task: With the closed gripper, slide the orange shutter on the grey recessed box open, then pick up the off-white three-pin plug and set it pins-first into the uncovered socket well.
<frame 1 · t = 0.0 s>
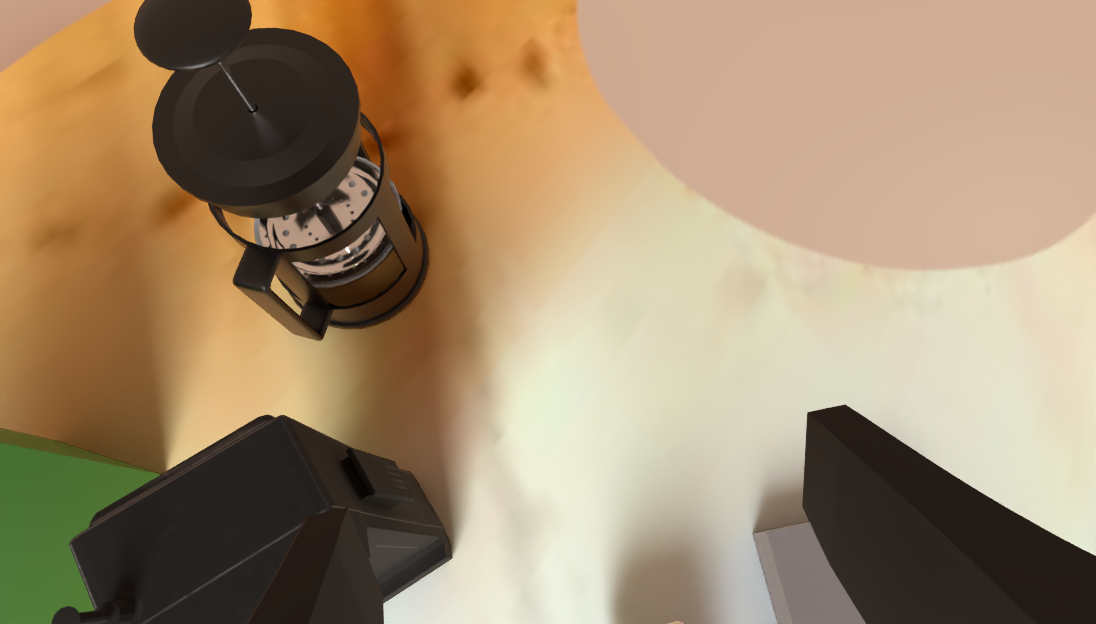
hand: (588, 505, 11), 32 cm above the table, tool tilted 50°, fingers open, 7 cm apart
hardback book: (40, 609, 42), on the table
french press: (355, 268, 48), on the table
portable radio: (390, 536, 43), on the table
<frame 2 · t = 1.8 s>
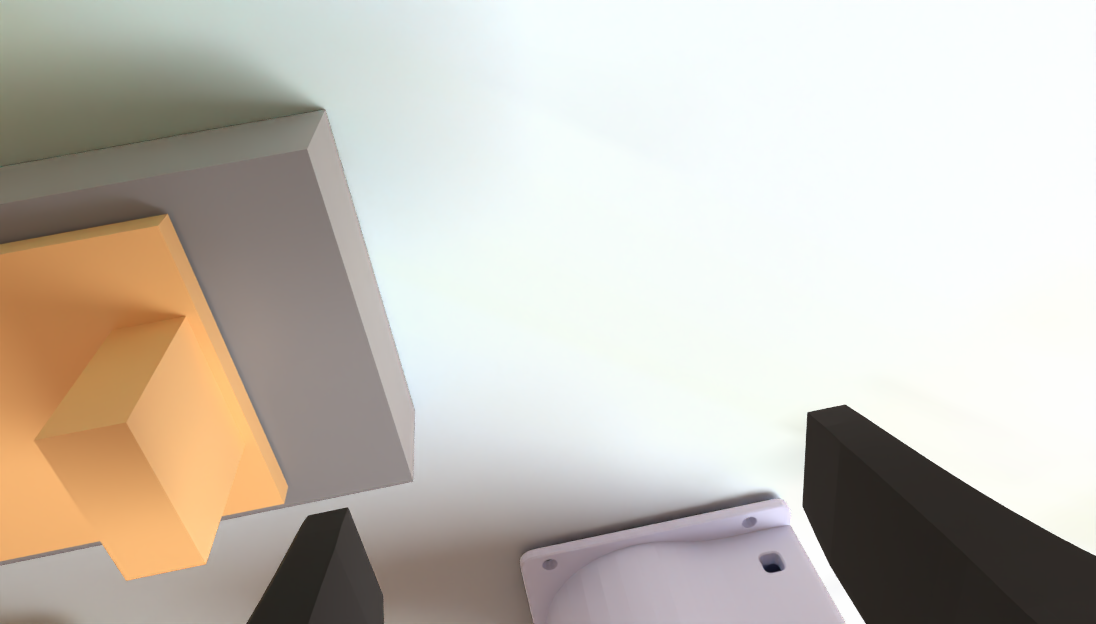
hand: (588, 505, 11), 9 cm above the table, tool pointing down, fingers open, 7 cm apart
shutter: (10, 462, 15), point 5 cm above the table, slide at 0.0 cm
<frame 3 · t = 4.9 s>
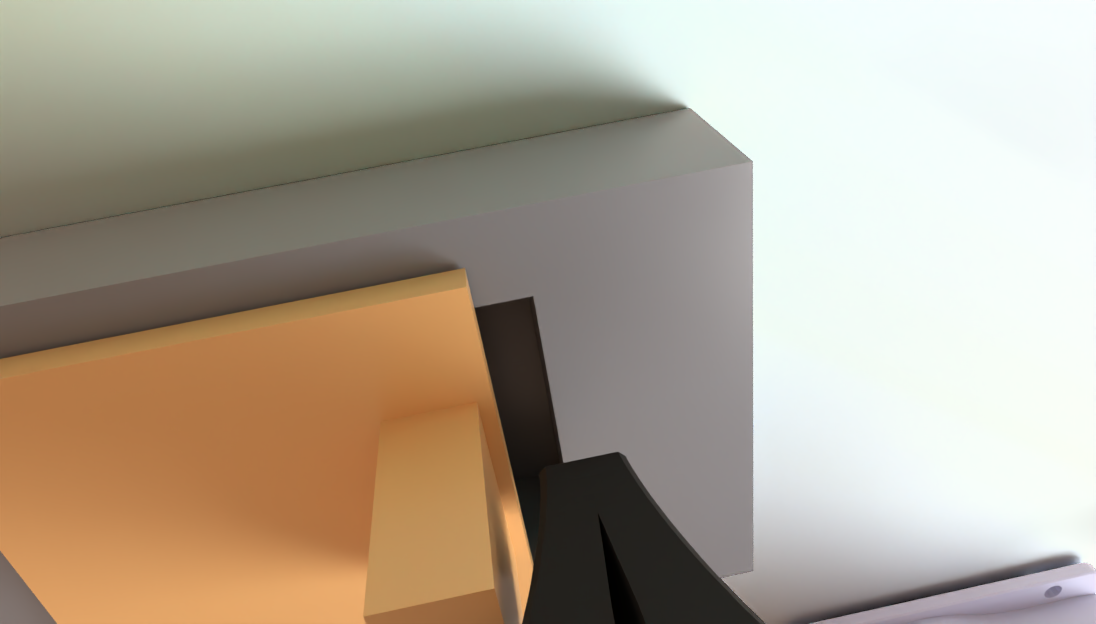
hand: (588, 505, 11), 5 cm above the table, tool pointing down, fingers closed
shutter: (254, 605, 11), point 5 cm above the table, slide at 1.4 cm, touching gripper
grey recessed box: (228, 412, 15), on the table
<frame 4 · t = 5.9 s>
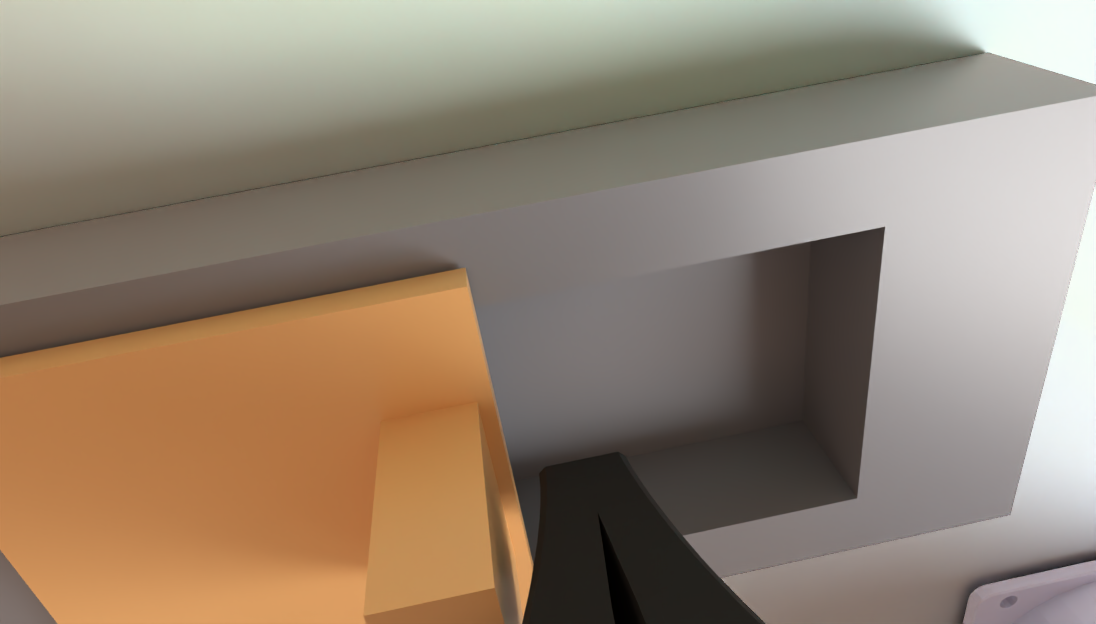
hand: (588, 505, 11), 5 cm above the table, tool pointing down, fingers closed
shutter: (254, 605, 11), point 5 cm above the table, slide at 7.1 cm, touching gripper
grey recessed box: (498, 357, 15), on the table
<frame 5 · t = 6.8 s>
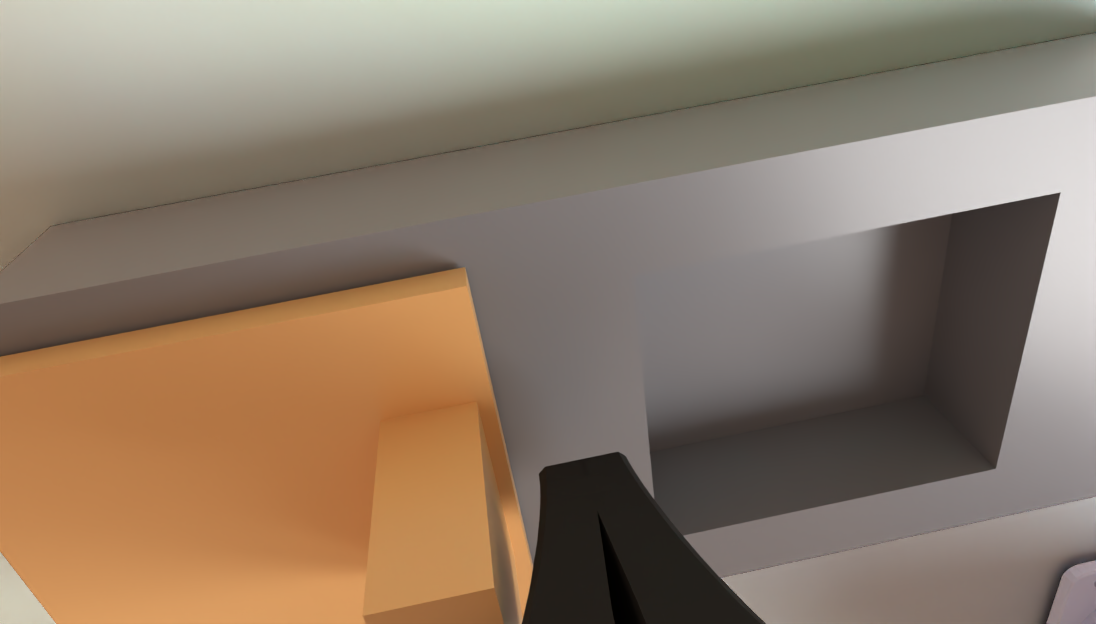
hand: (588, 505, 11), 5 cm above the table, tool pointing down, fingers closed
shutter: (253, 604, 11), point 5 cm above the table, slide at 10.0 cm, touching gripper
grey recessed box: (634, 330, 16), on the table
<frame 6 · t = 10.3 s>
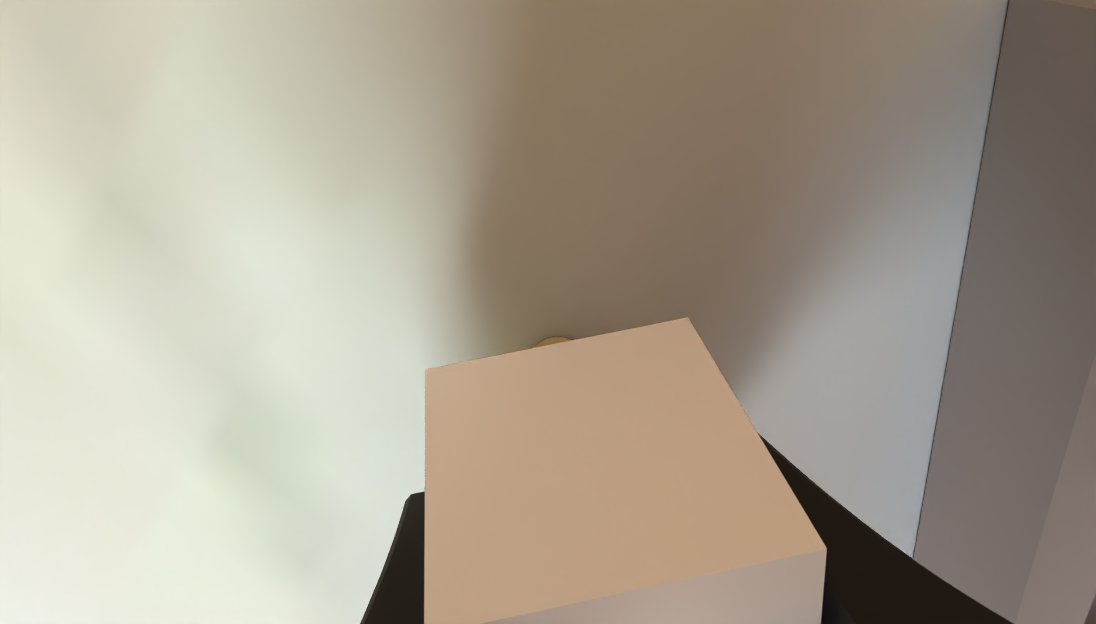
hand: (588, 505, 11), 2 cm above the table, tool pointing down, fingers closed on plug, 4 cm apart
plug: (563, 411, 14), on the table, touching gripper
when the fingers open (4 cm above the table, at t = 14.1 s): plug drops 1 cm, resting on grey recessed box.
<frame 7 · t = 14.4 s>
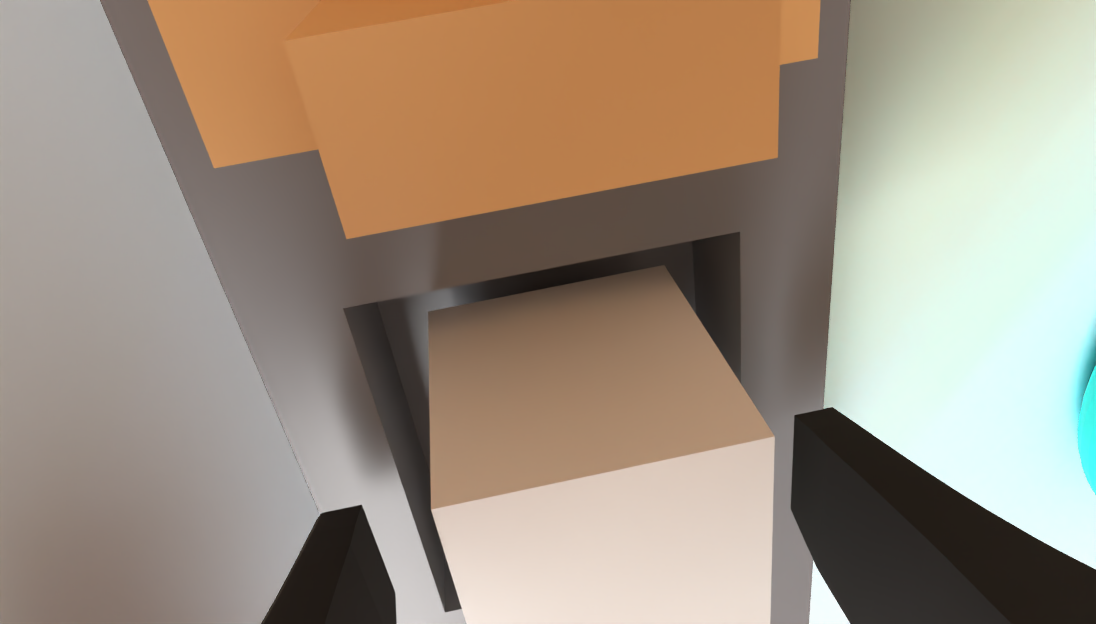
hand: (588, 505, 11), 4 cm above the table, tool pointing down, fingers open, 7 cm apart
grey recessed box: (526, 220, 14), on the table
plug: (553, 360, 15), point 1 cm above the table, touching grey recessed box
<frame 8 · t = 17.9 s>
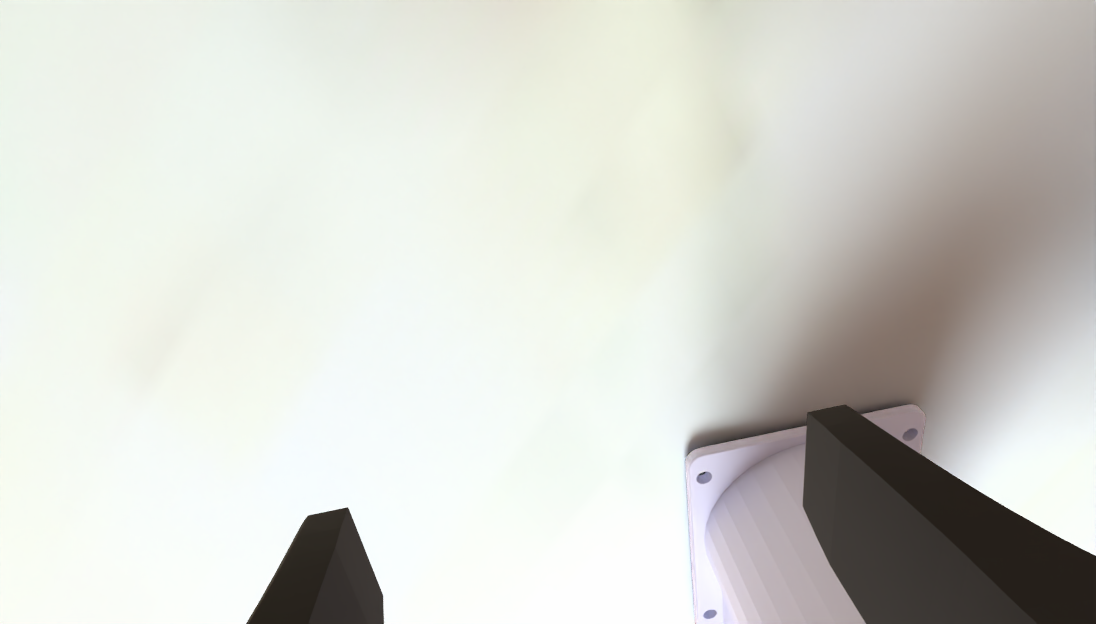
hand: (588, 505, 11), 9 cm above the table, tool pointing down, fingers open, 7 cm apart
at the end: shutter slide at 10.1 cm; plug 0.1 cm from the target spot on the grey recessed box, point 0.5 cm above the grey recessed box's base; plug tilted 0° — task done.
